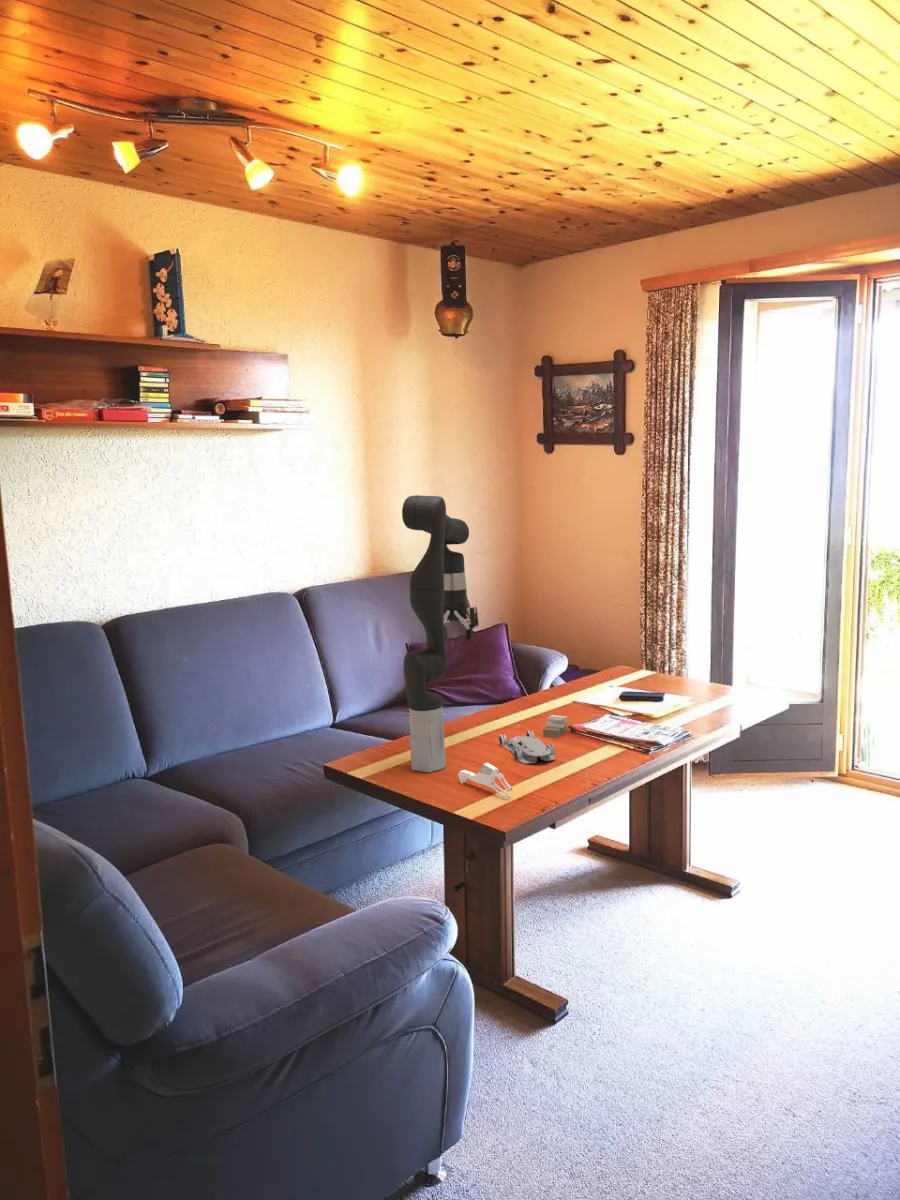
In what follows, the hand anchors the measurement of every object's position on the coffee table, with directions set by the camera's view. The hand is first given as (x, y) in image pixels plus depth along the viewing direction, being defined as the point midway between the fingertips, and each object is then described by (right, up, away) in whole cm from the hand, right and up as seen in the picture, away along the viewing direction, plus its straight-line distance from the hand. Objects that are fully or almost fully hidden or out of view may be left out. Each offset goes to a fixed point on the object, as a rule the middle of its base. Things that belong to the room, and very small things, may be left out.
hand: (456, 640), depth 279 cm
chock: (+30, -29, +2) cm, 42 cm away
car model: (+20, -32, -14) cm, 41 cm away
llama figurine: (+7, -37, -43) cm, 57 cm away
